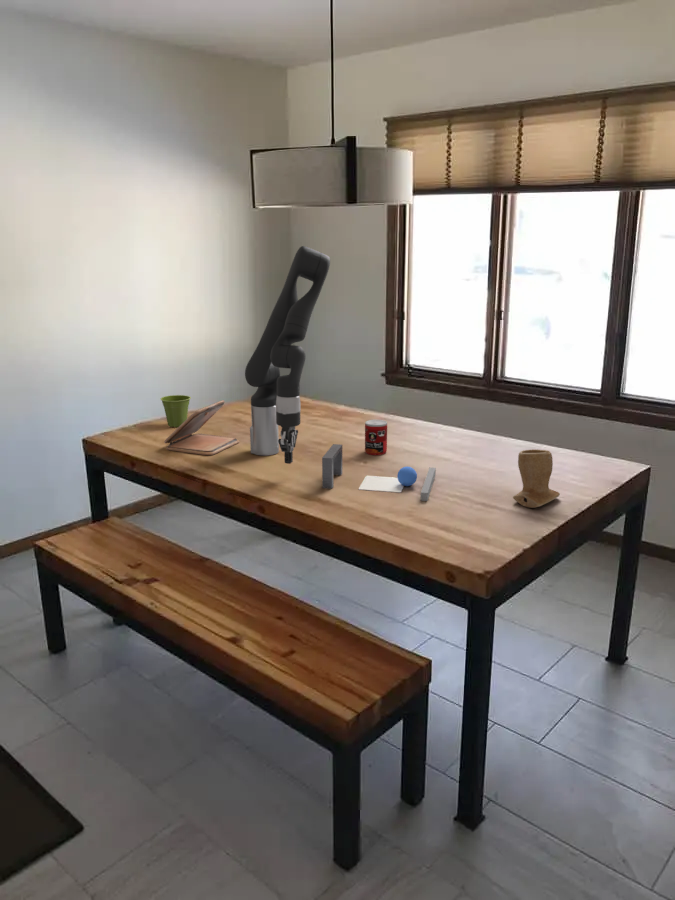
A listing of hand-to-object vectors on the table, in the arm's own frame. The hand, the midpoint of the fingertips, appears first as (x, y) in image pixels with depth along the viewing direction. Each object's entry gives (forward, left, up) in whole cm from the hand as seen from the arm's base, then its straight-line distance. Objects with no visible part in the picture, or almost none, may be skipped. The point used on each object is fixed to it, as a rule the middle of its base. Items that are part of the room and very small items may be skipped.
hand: (288, 462), depth 239 cm
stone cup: (+75, -5, -5) cm, 75 cm away
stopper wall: (+44, 0, -5) cm, 44 cm away
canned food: (+22, +33, -5) cm, 41 cm away
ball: (+38, +1, -2) cm, 38 cm away
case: (-41, +28, -6) cm, 50 cm away
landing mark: (+30, 0, -5) cm, 31 cm away
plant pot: (-62, +53, -5) cm, 82 cm away
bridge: (+14, 0, -5) cm, 15 cm away
